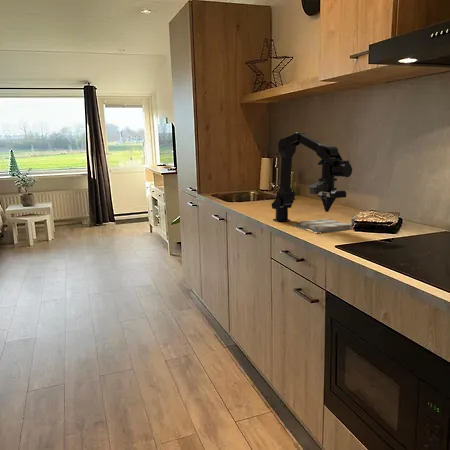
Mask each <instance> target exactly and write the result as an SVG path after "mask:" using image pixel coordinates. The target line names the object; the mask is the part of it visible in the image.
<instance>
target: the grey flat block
mask: <svg viewBox="0 0 450 450" xmlns="http://www.w3.org/2000/svg"><path fill="white" fill-rule="evenodd" d="M318 220H319V221H323V222H326V223H330V224H334V225H337V226H339V229H346V228H351V227H350V225H349V223H345V222H341V221H338V220H333V219H331V218H321V219H318Z"/></svg>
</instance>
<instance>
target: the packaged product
mask: <svg viewBox="0 0 450 450" xmlns="http://www.w3.org/2000/svg"><path fill="white" fill-rule="evenodd" d="M359 214H360V213H357V214H356V215H354V216H353V217H352V218H351V219H350V222H349V223H348V224H349V225H350V228H352V227H353V226H354V220H355V219H357V217H358V215H359Z"/></svg>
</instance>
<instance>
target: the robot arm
mask: <svg viewBox="0 0 450 450" xmlns="http://www.w3.org/2000/svg"><path fill="white" fill-rule="evenodd" d="M300 145H303V146H304V147H307V148H308V149H310V150H311V151H313V152H314V153H316V156H317V157H319V158H320V159H321V160H319V161H318V163H317V165H318V166H321V171H320V173H321V174H320V175H321V176H320V177H319V178H318V180H317V182H314V183H313V184H310V185H308V188H309V193H310V194H313V195H317V198H319V199H321V202H322V205H323V208H324V211H325V213H329V212H330V210H331V207H332V205H333V204H334V202H335V201H336V199H340V198H341V199H343V198H347V194H348V193H347V192H346V190H343V189H337V187H335V185H336V183H335V182H337V181H338V178H337V177H339V178H349V177H350V176H351V175H352V173H353V167H352V165H351V164H350V160H348V159H347V160H343V158H342V156H341V154H340V152H339V149H338V147H337V146H335V145H332V144H329V143H328V144H327V143H323V142H320V141H319V140H317V139H315V138H313V137H311V136H309V135H307V134H306V133H305V132H303V131H301V132H295V133H293V134H292V135H289V136H286V137H284V138H283V137H282V138H281V139H279V141H278V143H277V147H278V149H277V151H278V154H279V156H280V158H281V159H280V182H279V185H280V186H279V189H278V190H277V192H276V195H275V199H274V200H273V202H272V203H271V204H270V205H271V208H272V209H274V210H275V218H273V219H272V220H273V221H275V222H279V223H281V222H290V221H291V219H289V209H292V206H293V204H294V201H295V200H296V199H295V194H296V192H295V191H293V190H292V187H291V185H292V184H291V183H292V181H291V180H292V167H293V163H292V162H293V157H294V155H295V153H296V151H297V147H298V146H300Z"/></svg>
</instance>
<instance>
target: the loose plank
mask: <svg viewBox="0 0 450 450" xmlns="http://www.w3.org/2000/svg"><path fill="white" fill-rule="evenodd" d="M319 220H320V219H313V220H301V221H299V222H298V224H299V225H302V226H305V227H308V228H311V229H314V230H317V231H328V230H338V229H339V226H337V225H334V224H330V223H326V222H323V221H319Z"/></svg>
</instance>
